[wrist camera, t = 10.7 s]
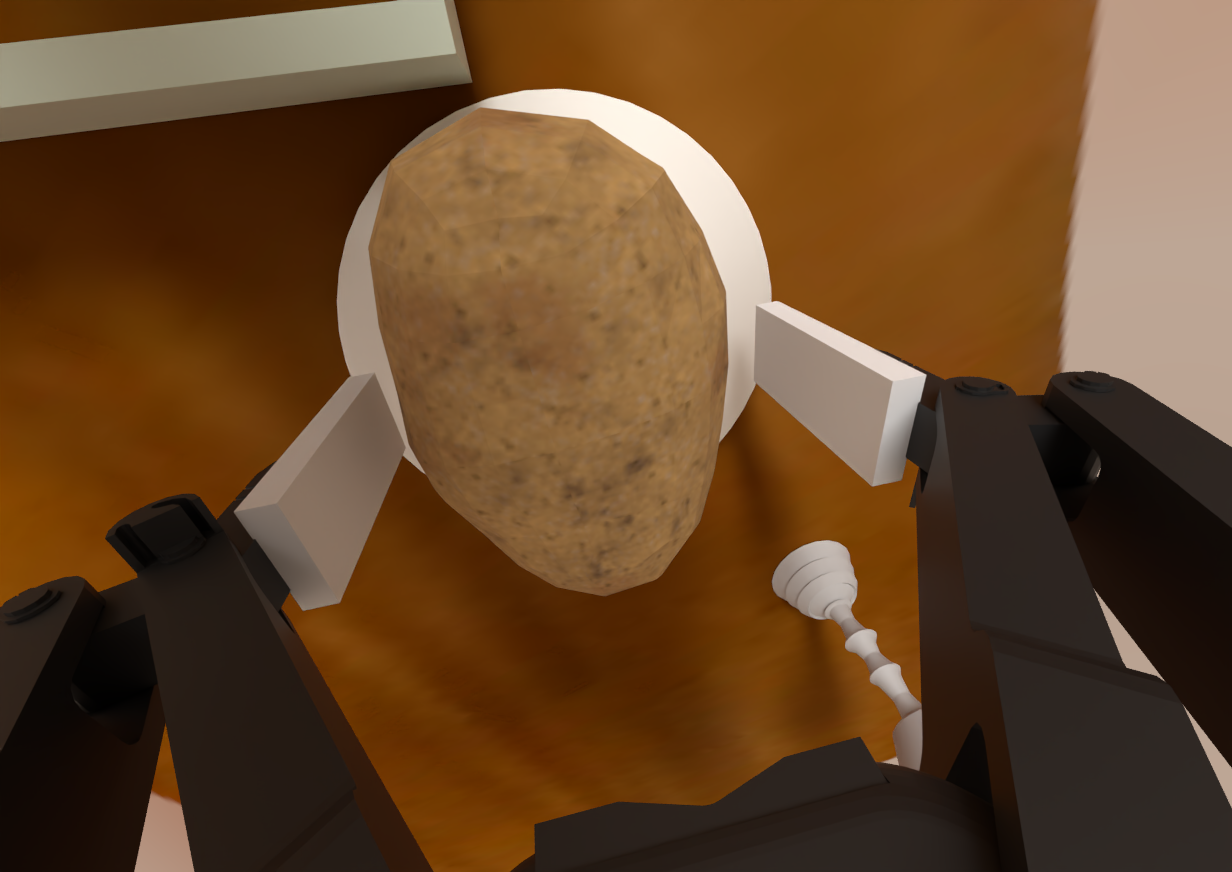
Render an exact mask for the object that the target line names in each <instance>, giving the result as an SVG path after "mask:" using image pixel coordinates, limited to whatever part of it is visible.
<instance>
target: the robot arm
mask: <svg viewBox="0 0 1232 872" xmlns="http://www.w3.org/2000/svg"><path fill="white" fill-rule="evenodd" d="M754 381H755V382H756V383H757V384H758V385H759V386H760V387H761V388H762V389H763V390H765V391H766V392H767V393H768V394H769V395H770V396H771V397H772V398H774V399H775V400H776V401H777V402H778V403H779V404H780V405H781V406H783V407H784V408H785V409H786V410H787V411H788V412H789V413H790V414H792V415H793V416H794V417H795V418H796V419H797V420H798V421H799V422H800V423H802V424H803V425H804V426H805V427H806V428H807V429H808V430H809V431H811V432H812V433H813V434H814V435H815V436H816V437H817V438H818V439H820V440H821V441H822V442H823V443H824V444H825V445H826V446H827V447H828V448H830V449H831V450H832V451H833V452H834V453H835V454H836V455H837V456H839V457H840V458H841V459H842V460H843V461H844V462H845V463H846V464H848V465H849V466H850V467H851V468H852V469H853V470H854V471H855V472H857V473H858V474H859V475H860V476H861V477H862V478H863V479H864V480H865V481H867V482H868V483H869V484H870V485H871V486H877V485H881V484H886V483H890V482H895V481H899V480H902V476H903V472H904V468H905V464H906V459H907V458H908V459H909V460H910V461H912V462H913V463H915V464H916V465H917V466H919V470H918V474H917V478H916V482H915V486H914V490H913V494H912V498H911V502H910V506H909V507H913V508H915V506H916V513H917V551H918V589H919V626H920V664H921V702H922V756H921V763H920V769H919V771H918V770H915V769H911V768H908V767H905V766H898V765H893V764H888V763H881V762H875V761H874V759H873V757H872V756H871V754H870V752H869V751H868V749H867V747H866V746H865V744H864V742H863V741H862V739H861V737H857V738H853V739H850V740H846V741H842V742H839V743H835V744H831V745H827V746H824V747H820V748H816V749H813V750H809V751H805V752H801V753H798V754H794V755H790V756H787V757H784V758H782V759H781V760H779V761H778V762H776V763H775V764H773V765H772V766H770V767H769V768H767V769H766V770H764V771H763V772H761V773H760V774H758V775H757V776H755V777H754V778H752V779H751V780H749V781H748V782H746V783H745V784H743V785H742V786H740V787H739V788H737V789H736V790H734V791H733V792H731V793H730V794H728V795H727V796H725V797H724V798H722V799H721V800H719V801H718V802H716V803H714V804H711V805H706V806H695V805H674V804H653V803H631V802H616V803H612V804H608V805H605V806H601V807H597V808H594V809H590V810H586V811H582V812H579V813H575V814H571V815H568V816H564V817H560V818H556V819H553V820H549V821H545V822H542V823H538V824H534V825H535V854H534V855H532V856H531V857H529V858H527V859H526V860H524V861H523V862H521V863H520V864H519V865H518V866H517V867H515V868H514V869H513V870H512V871H510V872H1232V808H1231V806H1230V804H1229V802H1228V799H1227V798H1226V795H1225V793H1224V791H1223V789H1222V787H1221V785H1220V783H1219V780H1218V778H1217V776H1216V774H1215V772H1214V770H1213V768H1212V766H1211V763H1210V761H1209V759H1208V757H1207V755H1206V753H1205V751H1204V749H1203V747H1202V745H1201V743H1200V740H1199V738H1198V736H1197V734H1196V732H1195V730H1194V728H1193V726H1192V723H1191V721H1190V719H1189V717H1188V715H1187V713H1186V711H1185V708H1186V709H1187V710H1188V711H1189V713H1190V714H1191V715H1192V717H1193V718H1194V719H1195V721H1196V722H1197V723H1198V725H1199V726H1200V727H1201V729H1202V730H1203V731H1204V732H1205V734H1206V735H1207V736H1208V738H1209V739H1210V740H1211V741H1212V743H1213V744H1214V745H1215V747H1216V748H1217V749H1218V751H1219V752H1220V753H1221V754H1222V756H1223V757H1224V758H1225V760H1226V761H1227V762H1228V764H1229V765H1230V766H1231V767H1232V447H1231V446H1229V445H1227V444H1226V443H1224V442H1223V441H1221V440H1219V439H1218V438H1216V437H1215V436H1213V435H1211V434H1210V433H1208V432H1207V431H1205V430H1204V429H1202V428H1200V427H1199V426H1197V425H1196V424H1194V423H1193V422H1191V421H1190V420H1188V419H1186V418H1185V417H1183V416H1182V415H1180V414H1178V413H1177V412H1175V411H1173V410H1172V409H1170V408H1169V407H1167V406H1166V405H1164V404H1163V403H1161V402H1159V401H1158V400H1156V399H1155V398H1153V397H1152V396H1150V395H1148V394H1147V393H1145V392H1144V391H1142V390H1141V389H1139V388H1137V387H1136V386H1134V385H1133V384H1130V383H1128V382H1126V381H1124V380H1122V379H1119V378H1115V377H1111V376H1109V375H1108V374H1106V373H1100V372H1098V373H1096V372H1093V371H1085V372H1065V373H1059V374H1056V375H1053V376H1052V378H1051V379H1050V381H1049V384H1048V386H1047V389H1046V392H1045V394H1044V395H1024V396H1016V393H1015V392H1014V390H1013V389H1012V388H1011V387H1009V386H1007V385H1006V384H1003V383H1001V382H998V381H994V380H991V379H986V378H981V377H955V378H949V379H947V380H944V379H942V378H940V377H938V376H936V375H933V374H931V373H929V372H927V371H925V370H923V369H921V368H919V367H917V366H913V364H911V363H909V362H907V361H905V360H901V358H899V357H896V356H894V355H892V354H890V353H888V352H885V351H881V350H877V349H873V348H871V347H869V346H867V345H865V344H863V343H861V342H859V341H857V340H855V339H853V338H851V337H849V336H847V335H845V334H843V333H841V332H839V331H837V330H835V329H833V328H831V327H829V326H827V325H825V324H823V323H821V322H819V321H817V320H815V319H813V318H811V317H809V316H807V315H805V314H803V313H801V312H799V311H797V310H795V309H793V308H791V307H789V306H787V305H785V304H783V303H781V302H779V301H775V302H770V303H764V304H758V305H756V319H755V352H754ZM405 449H406V446H405V444H404V442H403V439H402V437H401V434H400V432H399V430H398V427H397V425H396V422H395V420H394V418H393V415H392V413H391V411H390V408H389V406H388V403H387V401H386V399H385V396H384V394H383V392H382V389H381V387H380V384H379V382H378V380H377V377H376V375H375V372H374V373H369V374H363V375H357V376H352V377H349V378H348V379H347V380H346V381H345V382H344V383H343V385H342V386H341V387H340V388H339V389H338V390H337V392H336V393H335V394H334V395H333V396H332V397H331V399H330V400H329V401H328V402H327V403H326V404H325V406H324V407H323V408H322V409H321V410H320V411H319V413H318V414H317V415H316V416H315V417H314V418H313V420H312V421H311V422H310V423H309V424H308V425H307V427H306V428H305V429H304V430H303V431H302V432H301V434H300V435H299V436H298V437H297V438H296V439H295V441H294V442H293V443H292V444H291V445H290V446H289V448H288V449H287V450H286V451H285V452H284V453H283V455H282V456H281V457H280V458H279V459H278V461H275V462H274V463H272V464H271V465H269V466H268V467H267V468H265V469H264V470H262V471H261V472H259V473H258V474H257V475H256V476H255V477H254V478H253V479H252V480H251V482H250V483H249V484H248V485H247V486H246V487H245V488H246V489H245V490H243V491H242V492H241V493H240V494H239V495H238V496H237V497H236V501H233V502H232V503H231V504H230V505H229V506H228V508H227V509H226V510H225V511H224V512H223V513H222V514H221V515H220V517H219V518H218V519H217V520H216V519H215V518H214V516H213V515H212V514H211V512H210V511H209V509H208V508H207V507H206V505H205V504H204V503H203V501H202V500H201V499H200V497H198V496H197V495H195V494H180V495H176V496H171V497H167V498H164V499H162V500H159V501H156V502H153V503H151V504H149V505H146V506H144V507H142V508H140V509H138V510H136V511H134V512H132V513H131V514H129V515H128V516H126V517H125V518H123V519H122V520H120V521H118V522H117V523H116V524H115V525H114V526H113V527H112V528H111V529H110V530H109V531H108V533H107V535H106V538H105V539H106V540H107V541H108V542H109V543H110V544H111V545H112V547H113V548H114V549H115V550H116V551H117V552H118V553H119V554H120V555H121V556H122V557H123V558H124V560H125V561H126V562H127V563H128V564H129V565H130V566H131V567H132V568H133V569H134V570H135V572H136V573H137V576H138V578H136V579H133V580H130V581H128V582H125V583H122V584H119V585H117V586H114V587H111V588H109V589H106V590H103V591H101V592H97V591H96V590H95V589H94V588H93V587H92V586H91V585H90V584H89V583H88V582H87V581H86V580H85V579H83V578H81V577H79V576H73V577H64V578H61V579H57V580H54V581H51V582H48V583H45V584H43V585H41V586H38V587H36V588H30V589H28V590H26V591H24V592H22V593H20V594H19V596H15V597H13V598H11V599H10V600H8V601H6V602H5V603H4V604H3V606H2V607H0V872H134V870H135V865H136V860H137V856H138V851H139V846H140V841H141V836H142V832H143V827H144V822H145V817H146V813H147V808H148V803H149V799H150V794H151V789H152V784H153V780H154V775H155V770H156V765H157V761H158V756H159V751H160V746H161V742H162V737H163V732H164V727H165V723H166V727H167V732H168V737H169V742H170V747H171V753H172V758H173V763H174V768H175V773H176V779H177V784H178V789H179V794H180V799H181V805H182V810H183V815H184V820H185V825H186V830H187V836H188V841H189V846H190V851H191V856H192V861H193V866H194V871H195V872H433V870H432V868H431V867H430V865H429V863H428V861H427V860H426V858H425V856H424V854H423V853H422V851H421V849H420V847H419V846H418V844H417V842H416V840H415V839H414V837H413V835H412V833H411V832H410V830H409V828H408V826H407V825H406V823H405V821H404V819H403V818H402V816H401V814H400V812H399V811H398V809H397V807H396V805H395V804H394V802H393V800H392V798H391V797H390V795H389V793H388V791H387V790H386V788H385V786H384V784H383V783H382V781H381V779H380V777H379V775H378V774H377V772H376V770H375V768H374V767H373V765H372V763H371V761H370V760H369V758H368V756H367V754H366V753H365V751H364V749H363V747H362V746H361V744H360V742H359V740H358V739H357V737H356V735H355V733H354V732H353V730H352V728H351V726H350V725H349V723H348V721H347V719H346V718H345V716H344V714H343V712H342V711H341V709H340V707H339V705H338V704H337V702H336V700H335V698H334V697H333V695H332V693H331V691H330V690H329V688H328V686H327V684H326V683H325V681H324V679H323V677H322V676H321V674H320V672H319V670H318V669H317V667H316V665H315V663H314V662H313V660H312V658H311V656H310V655H309V653H308V651H307V649H306V648H305V646H304V644H303V642H302V641H301V639H300V637H299V635H298V634H297V632H296V630H295V628H294V627H293V625H292V623H291V621H290V620H289V618H288V617H287V615H286V614H285V613H284V611H283V610H282V609H281V607H282V605H283V603H284V601H285V599H286V598H287V596H288V594H289V592H290V593H291V594H292V596H293V597H294V599H295V600H296V602H297V603H298V604H299V606H300V607H301V609H302V610H303V611H305V610H309V609H314V608H318V607H323V606H328V605H332V604H337V603H340V601H341V599H342V596H343V594H344V592H345V589H346V587H347V585H348V582H349V580H350V578H351V575H352V573H353V571H354V568H355V566H356V564H357V561H358V559H359V557H360V554H361V552H362V550H363V547H364V545H365V543H366V540H367V538H368V535H369V533H370V531H371V528H372V526H373V524H374V521H375V519H376V517H377V514H378V512H379V510H380V507H381V505H382V503H383V500H384V498H385V496H386V493H387V491H388V489H389V486H390V484H391V482H392V479H393V477H394V474H395V472H396V470H397V467H398V465H399V463H400V460H401V458H402V456H403V453H404V451H405ZM1100 468H1101V470H1100ZM1099 470H1100V473H1099V476H1098V477H1097V474H1098V472H1099ZM1094 589H1095V591H1096V592H1097V593H1098V595H1099V596H1100V597H1101V599H1102V600H1103V601H1104V602H1105V604H1106V605H1107V606H1108V608H1109V609H1110V610H1111V612H1112V613H1113V614H1114V615H1115V617H1116V618H1117V619H1118V621H1119V622H1120V623H1121V625H1122V626H1123V627H1124V628H1125V630H1126V631H1127V632H1128V634H1129V635H1130V636H1131V638H1132V639H1133V640H1134V641H1135V643H1136V644H1137V645H1138V647H1139V648H1140V649H1141V651H1142V652H1143V653H1144V654H1145V656H1146V657H1147V658H1148V660H1149V661H1150V662H1151V663H1152V665H1153V666H1154V667H1155V669H1156V670H1157V671H1158V673H1159V674H1160V675H1161V677H1162V678H1163V679H1164V680H1165V682H1164V681H1163V680H1161V679H1160V678H1158V677H1157V676H1154V675H1151V674H1147V673H1144V672H1140V671H1136V670H1132V669H1129V668H1126V666H1125V664H1124V663H1123V661H1122V659H1121V656H1120V653H1119V651H1118V649H1117V646H1116V644H1115V641H1114V638H1113V636H1112V634H1111V631H1110V629H1109V626H1108V623H1107V621H1106V619H1105V616H1104V613H1103V611H1102V608H1101V606H1100V603H1099V601H1098V598H1097V596H1096V593H1095V591H1094ZM1183 705H1184V706H1185V708H1184V706H1183Z"/></svg>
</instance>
